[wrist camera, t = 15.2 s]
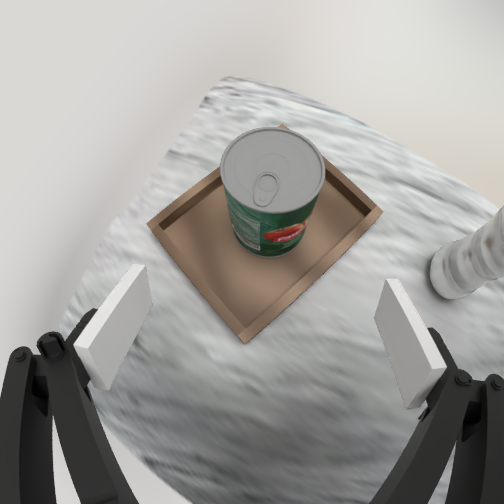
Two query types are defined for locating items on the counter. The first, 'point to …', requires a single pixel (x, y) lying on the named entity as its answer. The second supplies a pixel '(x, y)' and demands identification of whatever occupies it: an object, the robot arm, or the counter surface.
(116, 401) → the counter surface
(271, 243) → the canned tomato
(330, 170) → the walnut tray
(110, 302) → the robot arm
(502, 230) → the plastic bottle
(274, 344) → the counter surface
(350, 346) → the counter surface
